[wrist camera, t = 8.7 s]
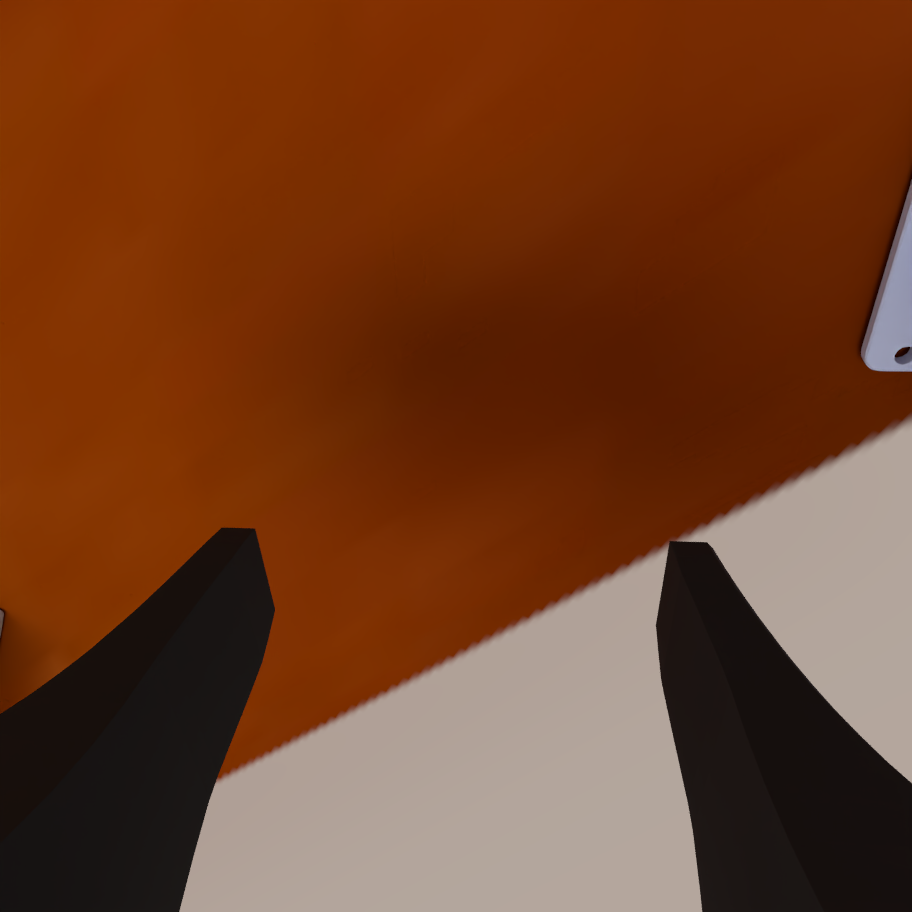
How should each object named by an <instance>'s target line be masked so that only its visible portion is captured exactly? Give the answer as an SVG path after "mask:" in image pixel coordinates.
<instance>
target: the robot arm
mask: <svg viewBox="0 0 912 912" xmlns="http://www.w3.org/2000/svg"><path fill="white" fill-rule="evenodd" d="M903 347H910V350H909V351H908V353H907V354H905V355H904V356H901V357H895V354H896V353H897V351H898V350H900V349H901V348H903ZM861 357H862V359H863V361H864V362H865V364H866V365H867V366H868V367H869V368H870V369H872V370H876V371H912V181H911V184H910V188H909V191H908V194H907V198H906V201H905V204H904V208H903V211H902V215H901V218H900V221H899V225H898V228H897V231H896V235H895V238H894V241H893V245H892V248H891V251H890V255H889V258H888V261H887V265H886V268H885V271H884V275H883V278H882V281H881V285H880V288H879V291H878V295H877V298H876V301H875V305H874V308H873V311H872V315H871V318H870V321H869V325H868V328H867V331H866V335H865V338H864V342H863V345H862V348H861ZM274 612H275V607H274V603H273V599H272V595H271V591H270V587H269V583H268V579H267V575H266V571H265V567H264V563H263V559H262V555H261V551H260V547H259V543H258V539H257V535H256V531H255V529H250V528H221V529H220V530H219V531H218V532H217V533H216V534H215V535H214V536H212V537H211V538H210V539H209V540H208V541H207V542H206V543H205V544H204V545H203V546H202V547H201V548H200V549H199V550H198V551H197V552H196V553H195V554H194V555H193V556H192V557H191V558H190V559H189V560H188V561H187V562H186V563H185V564H184V565H183V566H182V567H181V568H180V569H178V570H177V571H176V572H175V573H174V574H173V575H172V576H171V577H170V578H169V579H168V580H167V581H166V582H165V583H164V584H163V585H162V586H161V587H160V588H159V589H158V590H157V591H156V592H154V593H153V594H152V595H151V596H150V597H149V598H148V599H147V600H146V601H145V602H144V603H143V604H142V605H141V606H140V607H138V608H137V609H136V610H135V611H134V612H133V613H132V614H131V615H130V616H128V617H127V618H126V619H125V620H124V621H123V622H122V623H120V624H119V625H118V626H117V627H116V628H115V629H113V630H112V631H111V632H110V633H109V634H108V635H106V636H105V637H104V638H103V639H102V640H101V641H100V642H98V643H97V644H96V645H95V646H94V647H93V648H91V649H90V650H89V651H88V652H86V653H85V654H84V655H83V656H81V657H80V658H79V659H78V660H76V661H75V662H74V663H72V664H71V665H70V666H69V667H67V668H66V669H65V670H63V671H62V672H60V673H59V674H58V675H56V676H55V677H54V678H52V679H51V680H50V681H48V682H47V683H46V684H44V685H43V686H41V687H40V688H39V689H37V690H36V691H34V692H33V693H32V694H30V695H29V696H27V697H26V698H24V699H23V700H21V701H20V702H18V703H17V704H15V705H13V706H12V707H10V708H9V709H7V710H6V711H4V712H3V713H1V714H0V912H179V910H180V906H181V902H182V899H183V895H184V891H185V887H186V883H187V879H188V875H189V872H190V867H191V864H192V860H193V856H194V852H195V849H196V845H197V842H198V838H199V835H200V831H201V827H202V824H203V820H204V816H205V813H206V810H207V806H208V803H209V799H210V796H211V794H212V791H213V788H214V785H215V782H216V779H217V776H218V774H219V771H220V769H221V766H222V764H223V761H224V759H225V756H226V753H227V751H228V748H229V746H230V743H231V741H232V738H233V736H234V733H235V731H236V728H237V726H238V723H239V721H240V718H241V715H242V713H243V710H244V708H245V705H246V703H247V700H248V698H249V695H250V692H251V690H252V687H253V685H254V682H255V680H256V677H257V674H258V672H259V669H260V666H261V664H262V660H263V657H264V653H265V649H266V645H267V641H268V638H269V633H270V629H271V625H272V620H273V616H274ZM656 629H657V641H658V651H659V662H660V672H661V680H662V686H663V691H664V695H665V700H666V705H667V709H668V714H669V718H670V723H671V728H672V733H673V737H674V742H675V746H676V750H677V755H678V760H679V764H680V769H681V773H682V778H683V782H684V787H685V791H686V796H687V800H688V806H689V811H690V817H691V822H692V828H693V835H694V843H695V852H696V859H697V868H698V876H699V884H700V894H701V903H702V912H912V783H911V782H910V781H908V780H907V779H906V778H905V777H904V776H903V775H902V774H900V773H899V772H898V771H897V770H896V769H895V768H894V767H892V766H891V765H890V764H889V763H888V762H887V761H886V760H884V758H883V757H882V756H881V755H879V753H877V752H876V751H875V750H874V749H873V748H872V747H871V746H870V745H869V744H868V743H867V742H866V741H865V740H864V739H863V738H862V737H861V736H860V735H859V734H858V733H857V732H856V731H855V730H854V729H853V728H852V727H851V726H850V725H849V724H848V723H847V722H846V721H845V720H844V719H843V718H842V717H841V716H840V715H839V714H838V712H837V711H836V710H835V709H834V708H833V707H832V706H831V705H830V704H829V703H828V702H827V701H826V699H825V698H824V697H823V696H822V695H821V694H820V693H819V692H818V691H817V689H816V688H815V687H814V686H813V685H812V684H811V683H810V681H809V680H808V679H807V678H806V676H805V675H804V674H803V673H802V672H801V671H800V669H799V668H798V667H797V666H796V665H795V663H794V662H793V661H792V660H791V659H790V657H789V656H788V655H787V654H786V652H785V651H784V650H783V649H782V647H781V646H780V645H779V643H778V642H777V641H776V639H775V638H774V637H773V635H772V634H771V633H770V632H769V630H768V629H767V628H766V626H765V625H764V624H763V622H762V621H761V620H760V618H759V617H758V616H757V614H756V613H755V611H754V610H753V609H752V607H751V606H750V604H749V603H748V602H747V600H746V599H745V597H744V596H743V594H742V593H741V592H740V590H739V589H738V587H737V586H736V584H735V583H734V581H733V580H732V578H731V576H730V575H729V573H728V572H727V571H726V569H725V567H724V566H723V564H722V562H721V561H720V560H719V558H718V556H717V555H716V553H715V551H714V550H713V548H712V547H711V546H710V545H709V544H708V543H707V542H677V541H670V543H669V550H668V556H667V563H666V568H665V574H664V580H663V586H662V592H661V598H660V604H659V610H658V616H657V622H656Z"/></svg>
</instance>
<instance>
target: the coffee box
mask: <svg viewBox="0 0 912 912" xmlns="http://www.w3.org/2000/svg"><path fill="white" fill-rule="evenodd" d="M3 617H4V612H3V611H1V610H0V636H1V630H2V624H3Z"/></svg>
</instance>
